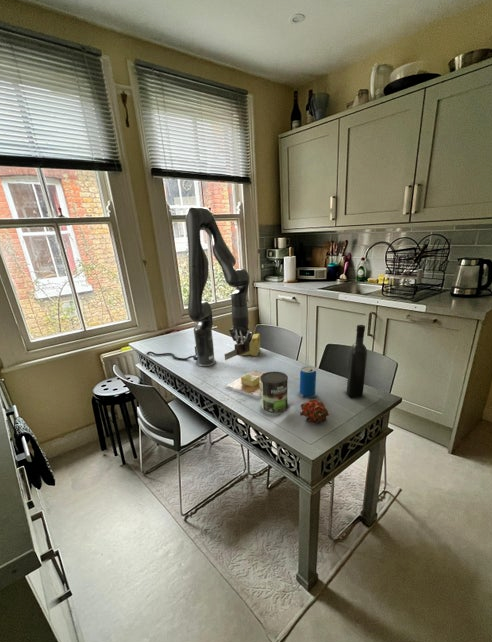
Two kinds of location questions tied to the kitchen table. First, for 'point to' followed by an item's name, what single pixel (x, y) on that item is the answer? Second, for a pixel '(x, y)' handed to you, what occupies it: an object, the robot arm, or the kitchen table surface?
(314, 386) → the beverage can
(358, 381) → the wine bottle
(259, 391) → the board
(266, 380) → the coffee can
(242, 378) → the butter
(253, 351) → the cheese
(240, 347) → the knife
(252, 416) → the kitchen table surface
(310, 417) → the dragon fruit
